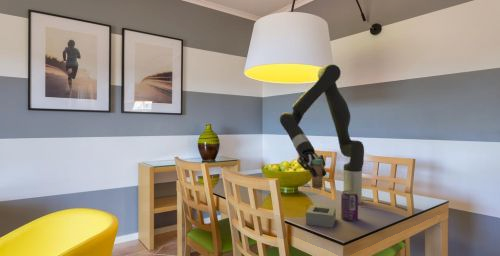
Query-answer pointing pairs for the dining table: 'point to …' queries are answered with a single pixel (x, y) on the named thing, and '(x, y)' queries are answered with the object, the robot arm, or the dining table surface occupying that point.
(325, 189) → the dining table surface
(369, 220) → the dining table surface
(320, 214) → the socket block
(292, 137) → the robot arm
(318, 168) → the green capped wooden peg
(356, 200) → the beverage can
